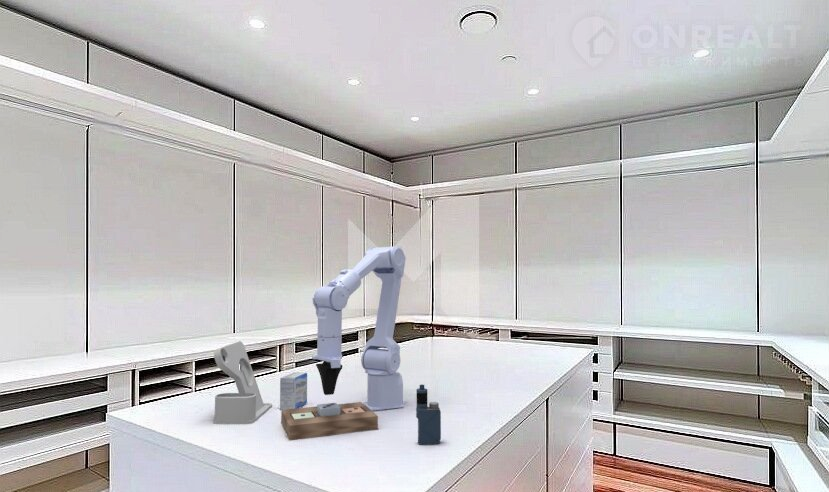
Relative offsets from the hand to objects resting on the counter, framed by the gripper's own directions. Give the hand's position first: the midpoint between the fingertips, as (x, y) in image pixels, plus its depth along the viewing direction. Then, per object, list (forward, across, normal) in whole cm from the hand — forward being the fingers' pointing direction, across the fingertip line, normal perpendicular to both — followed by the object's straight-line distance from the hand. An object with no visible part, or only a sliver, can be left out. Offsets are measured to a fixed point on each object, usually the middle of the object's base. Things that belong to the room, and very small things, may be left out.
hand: (328, 394), depth 112 cm
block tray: (+7, 0, 0) cm, 7 cm away
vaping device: (+8, +20, +17) cm, 27 cm away
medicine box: (+8, -21, -5) cm, 23 cm away
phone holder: (+8, -18, -18) cm, 27 cm away
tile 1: (+6, 0, -6) cm, 9 cm away
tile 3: (+5, 0, 0) cm, 5 cm away
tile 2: (+6, 0, +6) cm, 9 cm away
